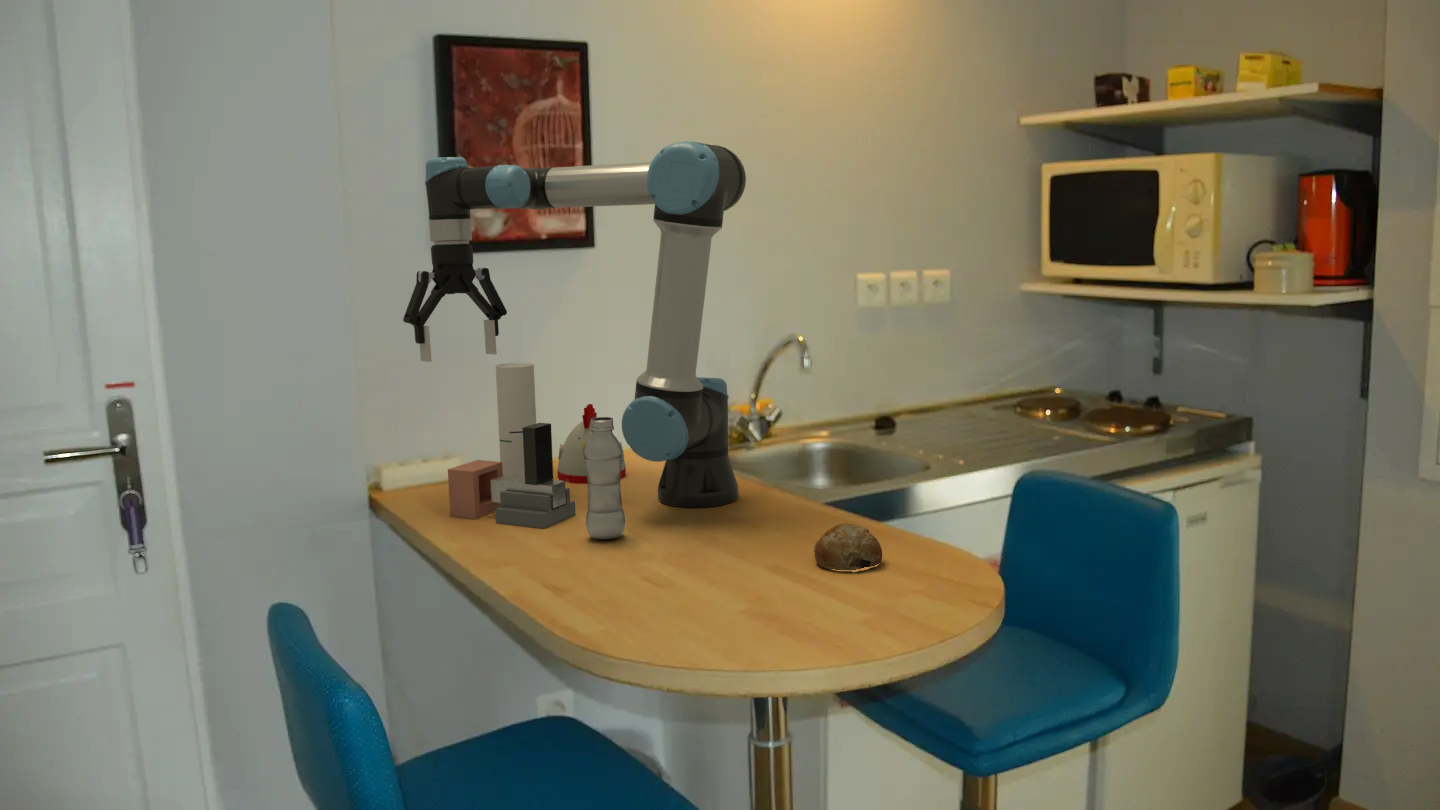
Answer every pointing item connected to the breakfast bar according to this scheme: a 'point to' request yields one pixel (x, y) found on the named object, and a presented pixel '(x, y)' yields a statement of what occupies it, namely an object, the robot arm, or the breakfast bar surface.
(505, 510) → the grey stepped base
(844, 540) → the bread roll
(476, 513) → the socket block
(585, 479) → the kitchen timer
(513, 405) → the cylindrical container
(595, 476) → the plastic bottle
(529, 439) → the black and grey block
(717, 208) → the robot arm
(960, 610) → the breakfast bar surface
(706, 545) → the breakfast bar surface
